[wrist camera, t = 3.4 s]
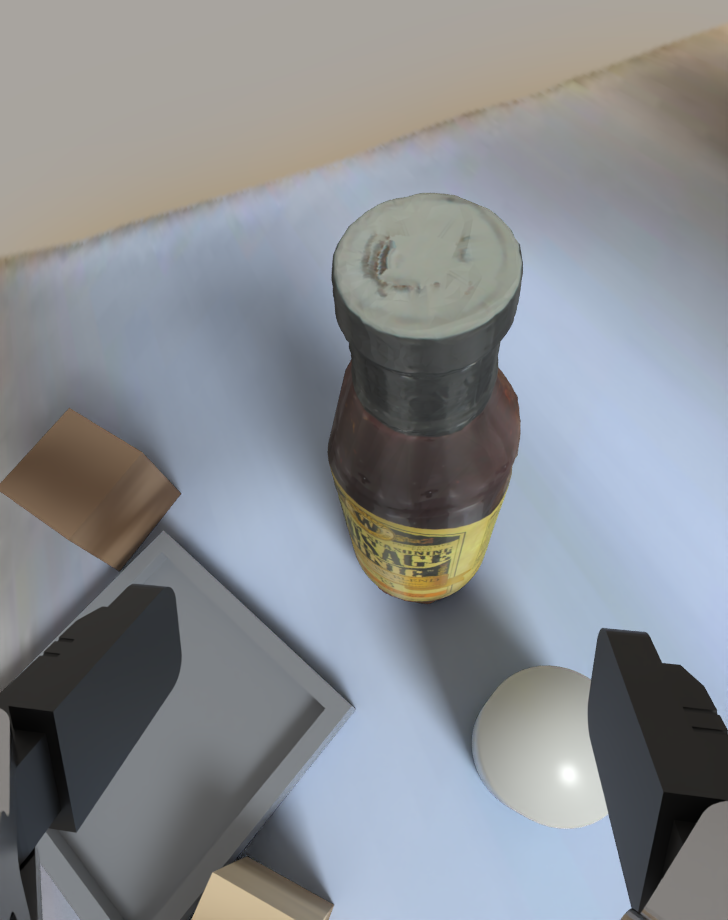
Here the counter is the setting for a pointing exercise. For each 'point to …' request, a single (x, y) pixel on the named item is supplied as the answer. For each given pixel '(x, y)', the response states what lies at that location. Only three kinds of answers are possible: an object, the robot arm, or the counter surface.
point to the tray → (195, 754)
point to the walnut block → (91, 488)
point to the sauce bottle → (424, 389)
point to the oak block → (257, 896)
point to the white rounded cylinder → (540, 748)
